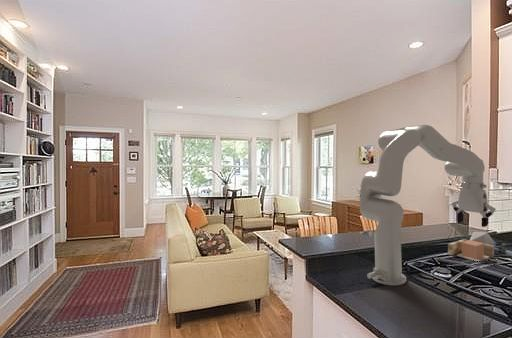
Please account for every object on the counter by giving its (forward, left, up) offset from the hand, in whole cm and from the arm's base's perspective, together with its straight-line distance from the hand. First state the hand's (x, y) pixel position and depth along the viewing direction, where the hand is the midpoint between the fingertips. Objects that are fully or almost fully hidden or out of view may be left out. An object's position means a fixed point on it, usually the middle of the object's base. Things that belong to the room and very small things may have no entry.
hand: (472, 224), depth 130 cm
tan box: (+1, +1, -15) cm, 15 cm away
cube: (0, 0, -15) cm, 15 cm away
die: (+13, +3, -15) cm, 21 cm away
